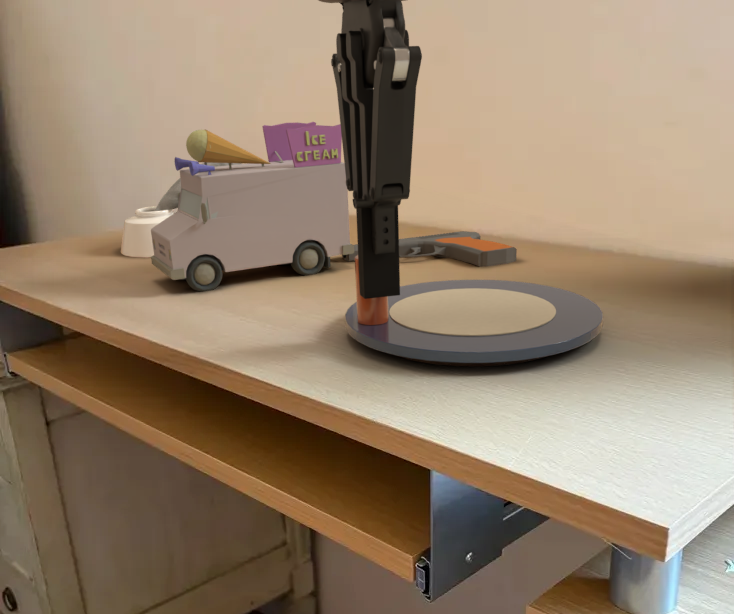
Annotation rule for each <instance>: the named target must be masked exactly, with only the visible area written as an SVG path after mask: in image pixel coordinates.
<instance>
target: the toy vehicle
mask: <svg viewBox="0 0 734 614" xmlns="http://www.w3.org/2000/svg"><path fill="white" fill-rule="evenodd" d="M262 132H263V138H264V143H265V149H266V150H265V151H266V155H267V160H268V161H267V160H265V159H263V158H261V157H259V156H257V155H256V154H253V153H251V152H250V151H248V150H246V149H243V148H242V147H240V146H238V145H237V144H234V143H232V142H230V141H228V140H227V139H225V138H223V137H221V136H219V135H217V134H216V133H213V132H212V131H210V130H208V129H197V130H194V131H192V132H191V133H190V134H189V135H188V137H187V139H186V142H185V147H186V151H187V153H188V156H190V158H192V159H193V160H190V159H183V158H181V157H177V156H175V157H174V167H175V170H176V171H177V172H178V171H179V179H180V180H181V191H180V195H179V192H178V202H179V204H178V208H177V210H176V211H175V212H173V213H174V214H173V215H171V216H170V217H168V218H167V219H165V220H164V221H162V222H161V223H159V224H158V225H156V226H155V227H153V228H152V229H151V235H152V243H153V250H154V255H153V256H152V257H150V261H151V265H153V266H154V267H156V268H157V269H158V270H159V271H161V272H162V273H163V274H165V275H166V276H167V277H169V278H170V279H171V280H173V281H176V280H183V281H184V280H185V281H186V283H187V285H188V286H189V287H190V288H191V289H192V290H194V291H195V292H201V293H202V292H209V291H214V290H215V289H217V288H218V286H220V283H221V281H222V280H223V275H224V273H223V272H225V273H229V272H235V271H243V270H249V269H250V270H251V269H258V268H264V267H269V266H271V267H272V266H277V265H282V266H288V265H290V266H291V268H292V269H293V270H294V272H296V274H299V275H300V276H312V275H316V274H318V273H319V272H320V271H321V270H322V269H323V268H325V269H330V268H331V258H332V257H336V256H342V255H347V254H353V253H354V245H355V244H352V243H351V235H350V215H349V214H350V212H349V211H350V210H349V191H348V189H347V186H346V173H345V163H344V161H342V145H343V144H342V134H341V125H340V123H339V124H335V125H320V124H317V122H315V121H311V122H306V123H305V122H282V123H277V124H273V125H266V124H264V125H262ZM202 163H204V164H205V165H202ZM207 163H229V165H228V166H217V167H214V166H209V165H207ZM231 163H241V164H239V165H231Z"/></svg>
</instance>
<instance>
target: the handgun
mask: <svg viewBox="0 0 734 614" xmlns="http://www.w3.org/2000/svg"><path fill="white" fill-rule="evenodd" d="M353 245H354V253H353V254H347V255H341V257H342V260H344V261H345V262H348V263H350V262H355V256H357V255H358V243H356V244H355V243H354V244H353ZM517 251H518V250H517V248H516V247H514V246H511V245H509V244H504V243H500V242H496V241H491V240H485V239H481V235H480V233H479V232H476V231H466V230H465V231H464V230H461V231H454V232H446V233H437V234H431V235H422V236H414V237H404V238H399V258H417V257H427V256H431V257H437V258H442V259H443V258H444V259H454V260H457V261H460V262H463V263H466V264H471V265H473V266H476V267H479V268H481V267H483V268H484V267H492V266H493V267H494V266H500V265H506V264H510V263H514V262H516V261H517V253H518V252H517Z"/></svg>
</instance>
